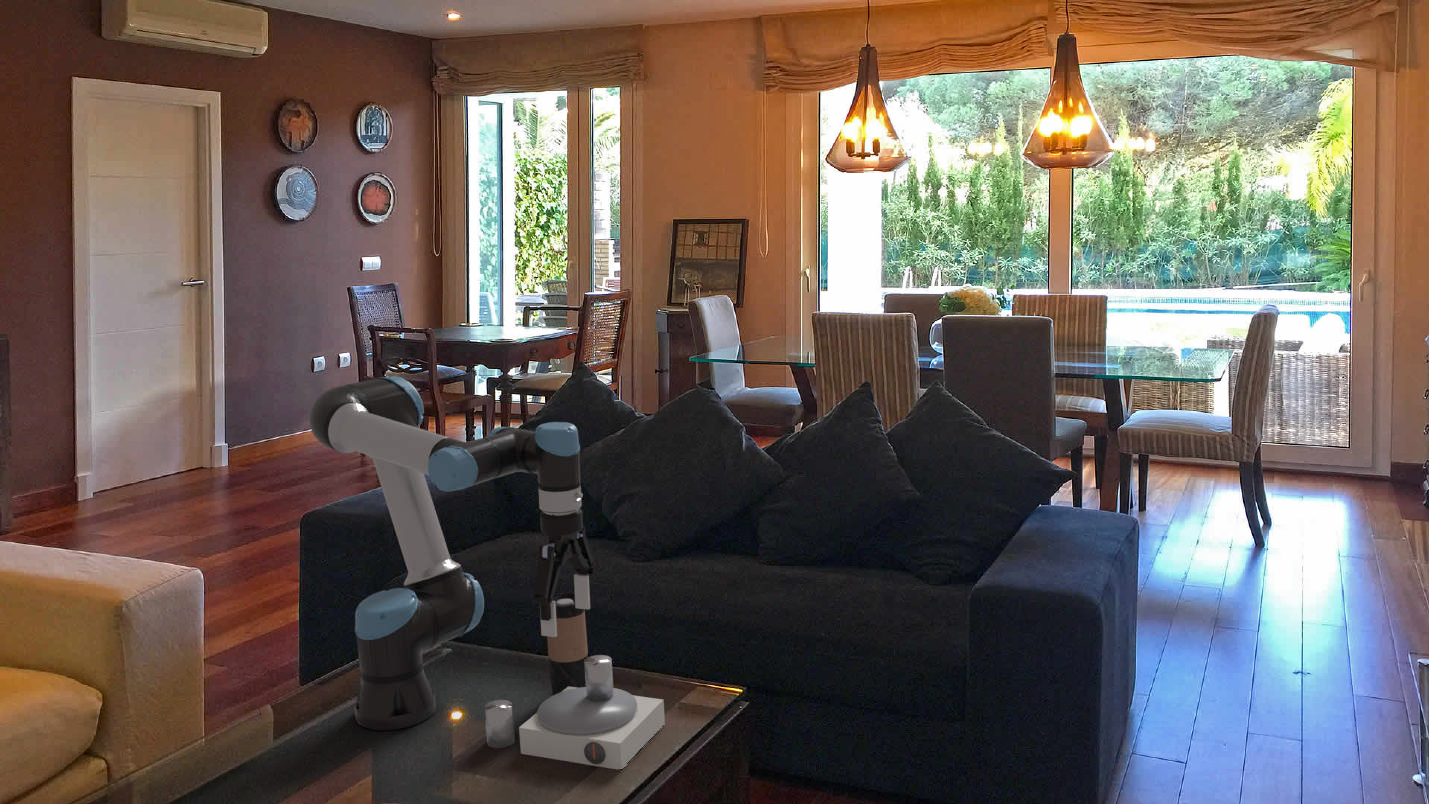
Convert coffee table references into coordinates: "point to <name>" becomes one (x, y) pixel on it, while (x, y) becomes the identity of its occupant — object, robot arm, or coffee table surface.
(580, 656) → the travel mug
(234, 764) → the coffee table surface
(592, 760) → the scale
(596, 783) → the coffee table surface
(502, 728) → the cylinder
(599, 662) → the cylinder
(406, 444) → the robot arm
